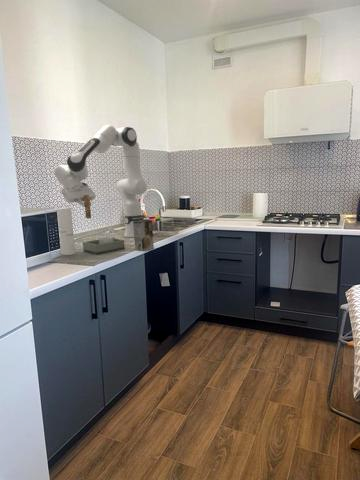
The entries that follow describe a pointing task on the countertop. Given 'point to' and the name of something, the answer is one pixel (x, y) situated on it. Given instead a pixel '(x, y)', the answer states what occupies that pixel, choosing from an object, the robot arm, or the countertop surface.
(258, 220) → the countertop surface
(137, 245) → the coffee box
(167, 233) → the countertop surface
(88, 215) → the brown wooden cylinder
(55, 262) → the countertop surface
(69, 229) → the cylindrical container
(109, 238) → the grey open box
